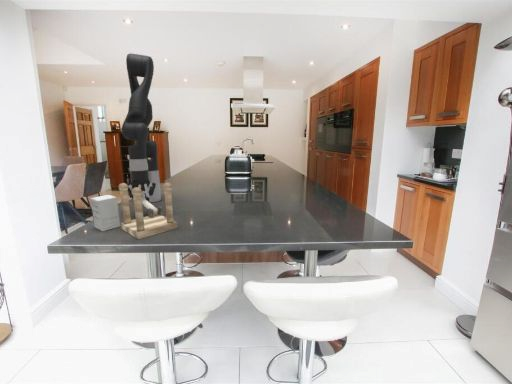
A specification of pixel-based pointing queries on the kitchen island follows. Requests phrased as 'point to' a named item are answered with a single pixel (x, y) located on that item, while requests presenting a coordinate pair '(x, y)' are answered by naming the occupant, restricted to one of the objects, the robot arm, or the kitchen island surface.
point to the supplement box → (105, 212)
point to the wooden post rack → (152, 222)
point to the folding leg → (149, 205)
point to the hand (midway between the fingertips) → (142, 205)
